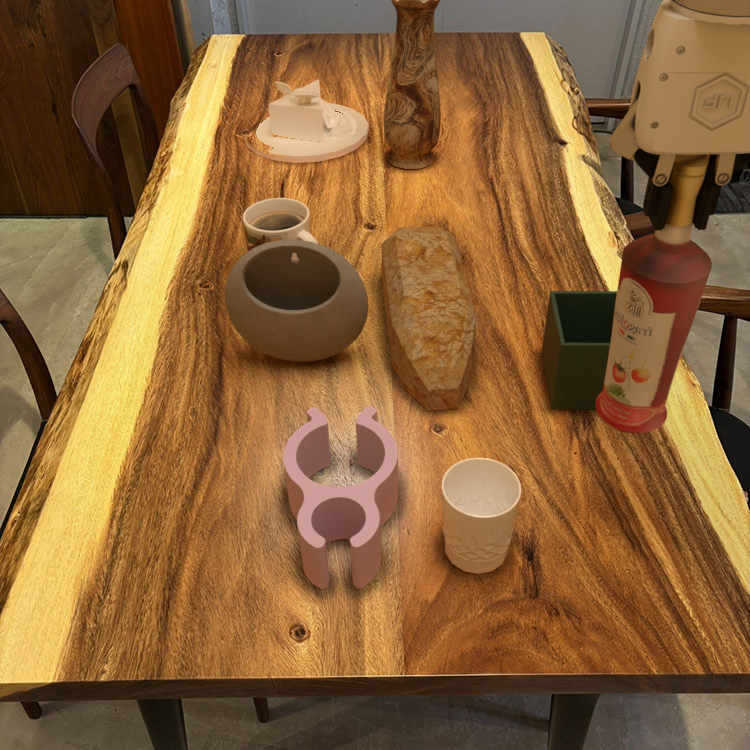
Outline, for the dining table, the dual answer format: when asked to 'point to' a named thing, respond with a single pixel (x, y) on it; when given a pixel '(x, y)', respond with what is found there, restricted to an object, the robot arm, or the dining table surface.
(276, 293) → the planter
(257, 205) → the mug
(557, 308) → the green square box
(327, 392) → the dining table surface
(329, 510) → the clip
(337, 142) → the dish
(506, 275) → the dining table surface
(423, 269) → the bread
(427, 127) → the vase
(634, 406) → the liquor
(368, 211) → the dining table surface
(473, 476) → the white cup
